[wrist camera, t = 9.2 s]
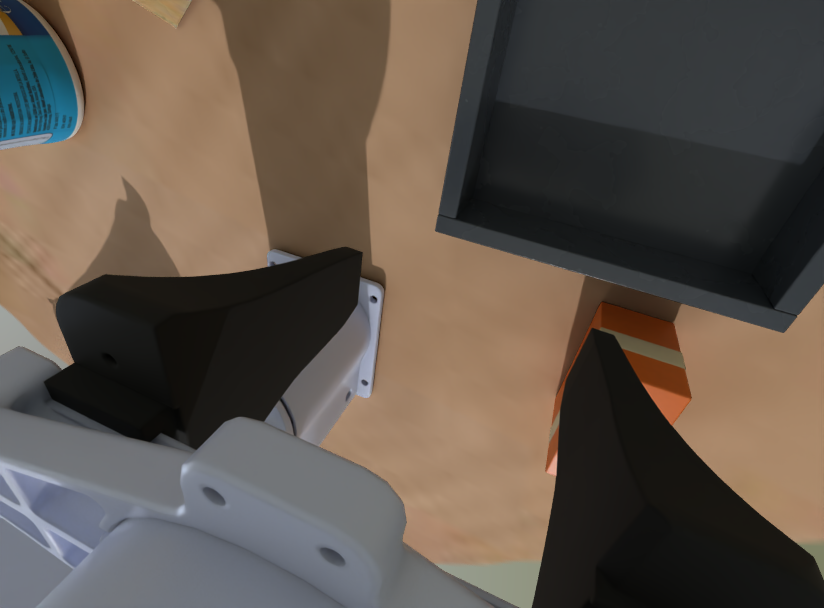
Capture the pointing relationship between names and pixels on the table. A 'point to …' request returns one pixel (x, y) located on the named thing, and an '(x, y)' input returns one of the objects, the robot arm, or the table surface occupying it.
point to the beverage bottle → (35, 80)
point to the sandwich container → (166, 9)
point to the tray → (649, 147)
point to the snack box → (638, 364)
